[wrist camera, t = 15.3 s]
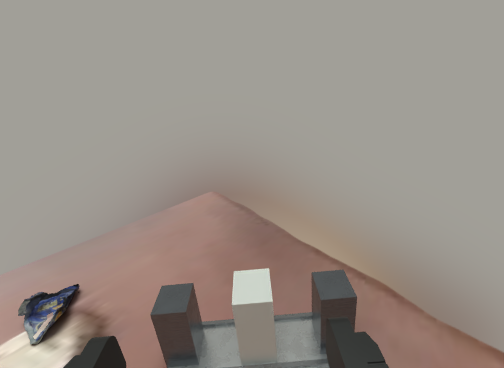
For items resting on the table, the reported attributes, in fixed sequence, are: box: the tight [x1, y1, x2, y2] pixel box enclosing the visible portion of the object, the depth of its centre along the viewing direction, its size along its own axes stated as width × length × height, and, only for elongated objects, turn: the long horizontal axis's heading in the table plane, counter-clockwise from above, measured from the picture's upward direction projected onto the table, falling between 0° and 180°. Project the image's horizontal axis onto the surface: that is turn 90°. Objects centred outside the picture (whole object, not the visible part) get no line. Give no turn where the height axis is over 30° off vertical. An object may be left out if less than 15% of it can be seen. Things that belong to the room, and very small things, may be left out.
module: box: [232, 268, 278, 365], centre depth 37 cm, size 5×6×11 cm
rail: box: [151, 270, 357, 368], centre depth 38 cm, size 26×9×12 cm, turn 91°
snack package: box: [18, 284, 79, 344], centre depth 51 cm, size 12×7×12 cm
